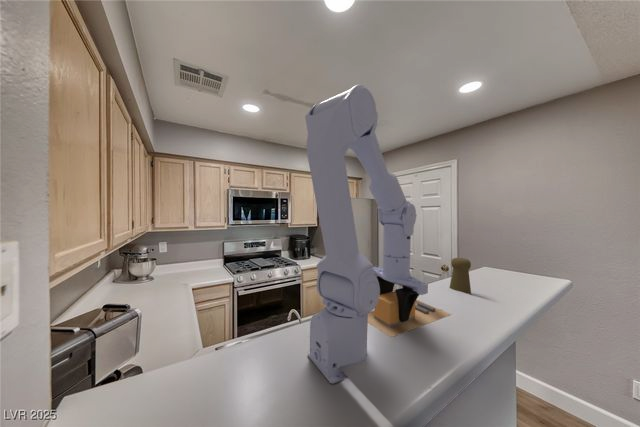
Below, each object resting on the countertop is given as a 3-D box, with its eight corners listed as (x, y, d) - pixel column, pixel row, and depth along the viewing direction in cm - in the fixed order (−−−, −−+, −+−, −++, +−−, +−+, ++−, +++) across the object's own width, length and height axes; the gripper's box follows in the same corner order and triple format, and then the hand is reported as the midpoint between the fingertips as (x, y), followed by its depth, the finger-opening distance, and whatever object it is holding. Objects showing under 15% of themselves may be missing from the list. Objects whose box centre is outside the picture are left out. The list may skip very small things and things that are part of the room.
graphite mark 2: (431, 312, 55) (432, 309, 55) (417, 305, 59) (417, 303, 59) (435, 310, 56) (435, 308, 56) (420, 304, 59) (420, 302, 59)
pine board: (390, 345, 44) (391, 337, 44) (357, 321, 53) (357, 315, 53) (451, 320, 54) (451, 314, 54) (414, 304, 63) (415, 299, 63)
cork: (475, 298, 68) (476, 261, 68) (452, 296, 70) (453, 259, 69) (466, 290, 74) (467, 256, 74) (446, 289, 76) (447, 255, 75)
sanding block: (389, 327, 48) (390, 303, 48) (374, 318, 52) (374, 296, 51) (414, 318, 52) (415, 296, 52) (398, 310, 56) (399, 290, 55)
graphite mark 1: (425, 314, 54) (425, 311, 54) (411, 307, 57) (411, 305, 57) (428, 313, 55) (428, 310, 55) (414, 306, 58) (414, 304, 58)
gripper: (438, 260, 47) (436, 325, 47) (385, 248, 60) (383, 300, 60) (415, 264, 43) (413, 334, 44) (364, 250, 56) (362, 305, 56)
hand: (394, 315), depth 52 cm, fingers closed on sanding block, 4 cm apart
